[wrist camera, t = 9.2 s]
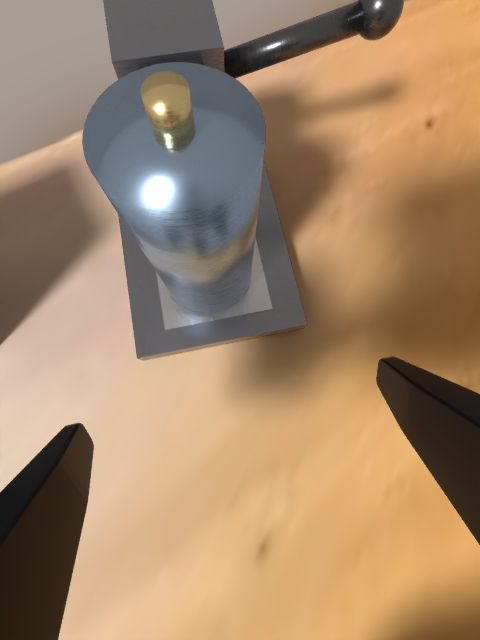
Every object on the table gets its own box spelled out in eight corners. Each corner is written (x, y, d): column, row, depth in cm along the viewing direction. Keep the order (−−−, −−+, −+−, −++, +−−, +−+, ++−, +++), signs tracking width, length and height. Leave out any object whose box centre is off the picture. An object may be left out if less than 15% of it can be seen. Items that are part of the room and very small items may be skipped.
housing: (265, 255, 19) (304, 57, 8) (225, 328, 17) (205, 215, 7) (192, 220, 19) (132, -10, 8) (148, 289, 18) (14, 125, 7)
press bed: (370, 314, 19) (529, 225, 9) (143, 360, 18) (27, 318, 8) (321, 158, 22) (399, -50, 12) (120, 190, 21) (11, -6, 11)
